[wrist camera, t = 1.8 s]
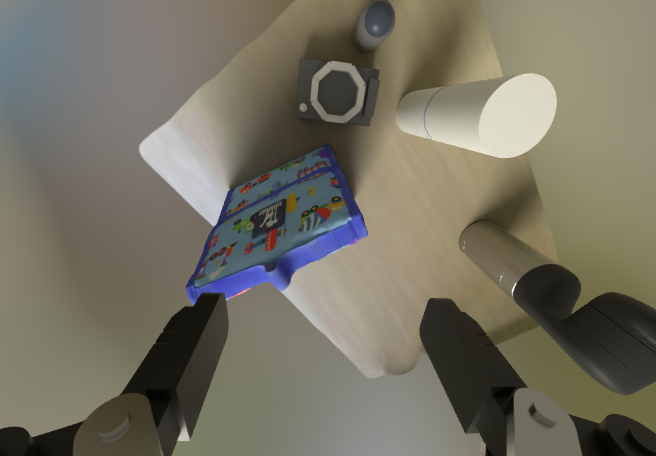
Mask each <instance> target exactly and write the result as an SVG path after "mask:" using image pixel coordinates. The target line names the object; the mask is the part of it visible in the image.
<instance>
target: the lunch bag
mask: <svg viewBox="0 0 656 456" xmlns="http://www.w3.org/2000/svg"><path fill="white" fill-rule="evenodd" d="M367 235H368V232H367V229H366V226H365V222H364V219H363V215H362V213H361V212H360V210H359V208H358V206H357V204H356V202H355V200H354V198H353V196H352V194H351V191H350V188H349V186H348V184H347V181H346V177H345V175H344V174H343V173H342V171H341V168H340V166H339V164H338V162H337V160H336V158H335V155H334V153H333V151H332V149H331V147H330V145H329V144H326V145H324V146H323V147H320V148H318V149H316V150H314V151H312V152H310V153H308V154H305V155H303V156H301V157H300V158H297V159H295V160H292V161H290V162H288V163H286V164H284V165H282V166H280V167H279V168H277V169H274V170H272V171H269V172H267V173H265V174H263V175H261V176H258V177H256V178H254V179H252V180H250V181H249V182H247V183H245V184H243V185H241V186H238V187H236V188H235V189H232V190H229V191H228V193H227V196H226V199H225V202H224V205H223V208H222V210H221V213H220V216H219V219H218V222H217V224H216V225H215V226H214V228H213V229H212V231H211V232H210V234H209V236H208V239H207V241H206V243H205V246H204V250H203V253H202V256H201V258H200V260H199V263H198V265H197V267H196V270H195V272H194V274H193V275H192V276H191V278H190V279H189V282H188V284H187V285H186V291H187V295H188V297H189V299H190V301H191V303H192V304H193V305H194V304H195V303H196V301H197V299H198V298H199V296H200V294H201V293H203V292H216V293H225V296H226V300H228V299H230V298H232V297H234V296H236V295H239V294H241V293H243V292H245V291H247V290H249V289H250V288H252V287H254V286H256V285H259V284H261V283H264V282H268V281H270V282H271V283H272V284H273V285H274V286H275V287H276V288H277V289H278V290H279V291H283V290H285V289H286V288H287V287H288V286H289V284H290V281H291V277H292V275H293V274H294V272H295V271H296V270H298V269H300V268H301V267H303V266H305V265H307V264H309V263H311V262H314V261H317V260H320V259H322V258H323V257H325V256H327V255H329V254H332V253H335V252H337V251H338V250H340V249H341V248H344V247H346V246H349V245H351V244H354V243H356V242H357V241H358V240H359V239H361V238H364V237H366V236H367Z"/></svg>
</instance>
